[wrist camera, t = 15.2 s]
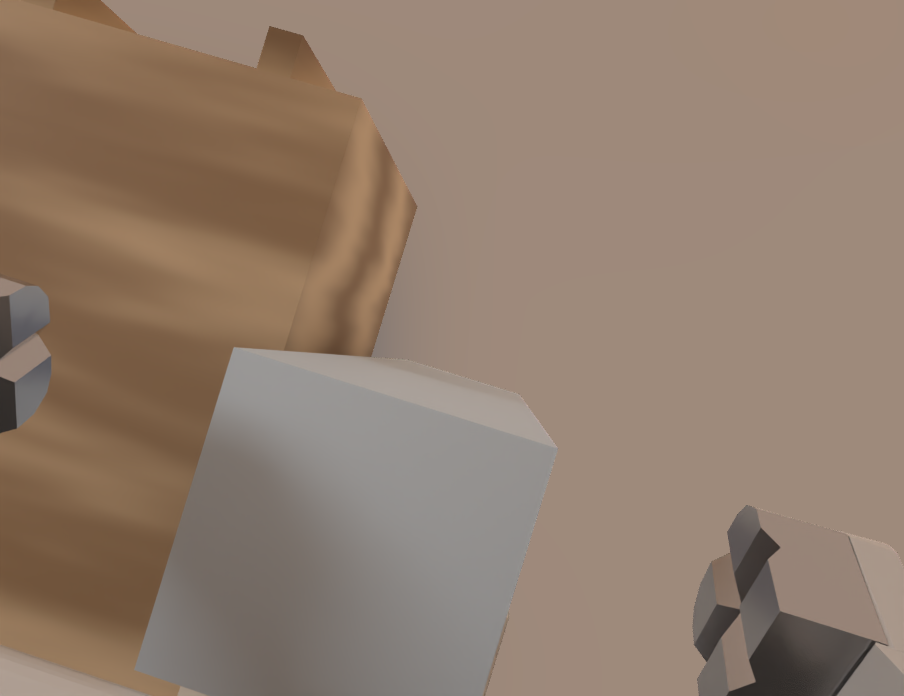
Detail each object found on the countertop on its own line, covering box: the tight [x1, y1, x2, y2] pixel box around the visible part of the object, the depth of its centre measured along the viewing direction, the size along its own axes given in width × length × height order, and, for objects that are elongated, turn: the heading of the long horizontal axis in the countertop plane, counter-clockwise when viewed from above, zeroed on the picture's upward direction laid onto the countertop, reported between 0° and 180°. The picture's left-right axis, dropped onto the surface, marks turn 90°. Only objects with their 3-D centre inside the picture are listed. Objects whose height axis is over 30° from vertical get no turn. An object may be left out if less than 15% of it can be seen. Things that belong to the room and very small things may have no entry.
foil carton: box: [134, 347, 558, 696], centre depth 20 cm, size 20×4×4 cm, turn 177°
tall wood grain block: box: [0, 0, 509, 696], centre depth 24 cm, size 12×16×27 cm
